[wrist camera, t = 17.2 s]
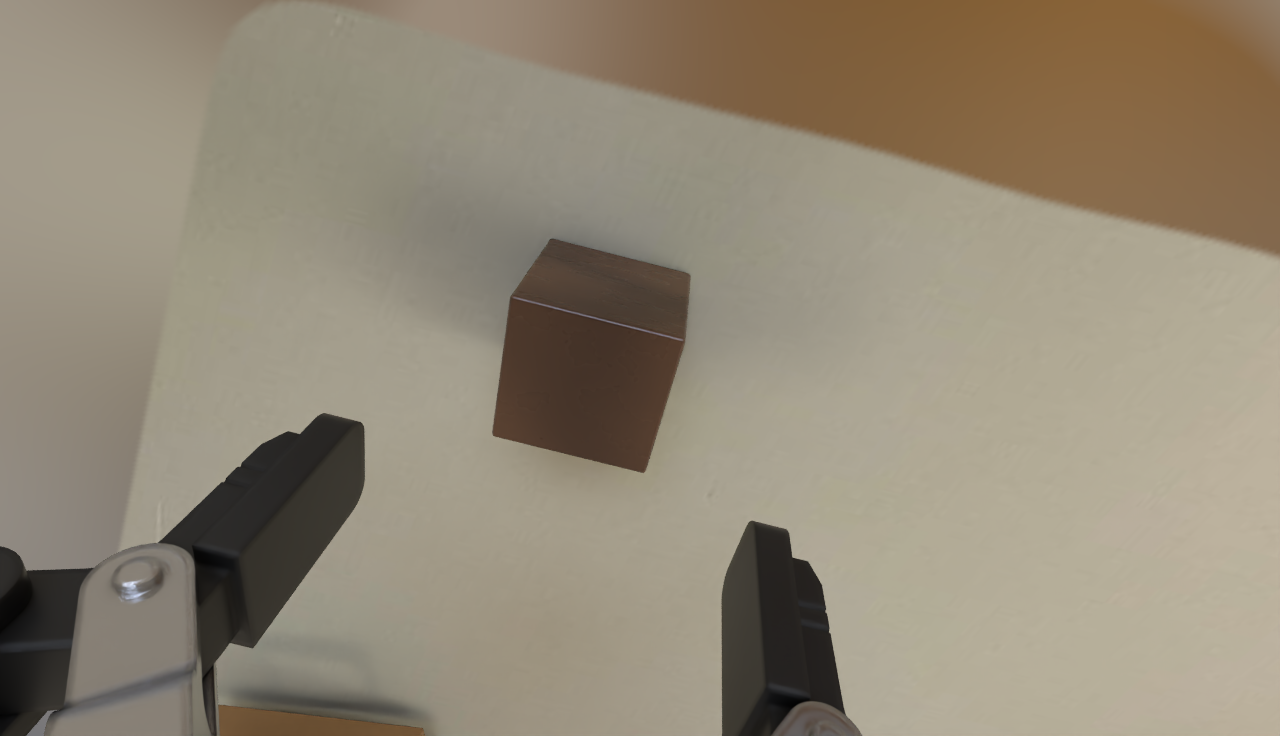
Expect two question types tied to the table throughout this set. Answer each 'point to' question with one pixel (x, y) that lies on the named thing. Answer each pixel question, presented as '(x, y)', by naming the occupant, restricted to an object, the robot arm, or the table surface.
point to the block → (591, 354)
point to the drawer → (300, 725)
